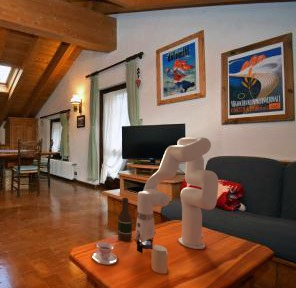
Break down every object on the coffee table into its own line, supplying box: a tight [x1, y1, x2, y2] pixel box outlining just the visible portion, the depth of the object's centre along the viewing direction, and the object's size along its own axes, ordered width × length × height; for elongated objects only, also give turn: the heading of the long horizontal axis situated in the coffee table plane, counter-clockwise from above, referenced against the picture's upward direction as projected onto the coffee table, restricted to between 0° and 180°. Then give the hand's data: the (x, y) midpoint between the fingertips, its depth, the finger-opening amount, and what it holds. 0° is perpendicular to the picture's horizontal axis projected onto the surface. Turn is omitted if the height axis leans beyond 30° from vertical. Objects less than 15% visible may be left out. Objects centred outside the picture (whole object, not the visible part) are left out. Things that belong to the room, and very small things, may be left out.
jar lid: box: [139, 239, 152, 250], centre depth 111 cm, size 7×7×2 cm
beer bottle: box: [117, 197, 133, 243], centre depth 127 cm, size 8×8×24 cm
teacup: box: [91, 241, 118, 266], centre depth 105 cm, size 12×12×6 cm
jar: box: [150, 244, 169, 275], centre depth 97 cm, size 7×7×10 cm
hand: (144, 249), depth 111 cm, fingers closed on jar lid, 7 cm apart
